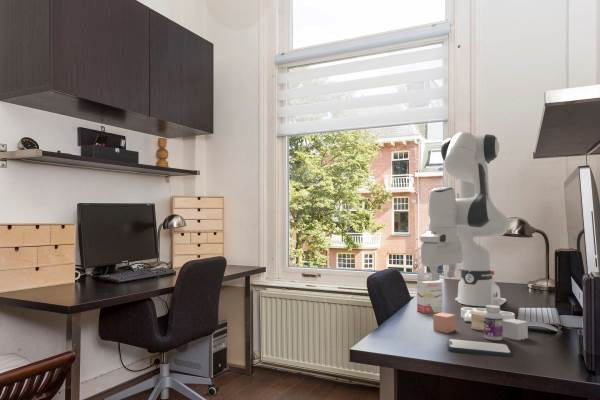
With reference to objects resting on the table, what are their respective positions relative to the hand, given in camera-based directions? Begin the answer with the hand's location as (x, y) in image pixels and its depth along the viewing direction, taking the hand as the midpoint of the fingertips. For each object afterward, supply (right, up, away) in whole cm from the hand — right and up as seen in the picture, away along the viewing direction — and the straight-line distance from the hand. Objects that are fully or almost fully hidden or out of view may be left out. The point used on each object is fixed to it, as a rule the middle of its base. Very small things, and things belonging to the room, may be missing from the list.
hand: (443, 278), depth 142 cm
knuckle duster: (+19, -18, +13) cm, 29 cm away
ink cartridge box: (+4, -18, +27) cm, 32 cm away
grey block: (+19, -16, -9) cm, 27 cm away
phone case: (+3, -16, -21) cm, 27 cm away
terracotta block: (0, -17, -1) cm, 17 cm away
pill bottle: (+12, -16, -10) cm, 23 cm away
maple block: (+13, -17, +2) cm, 21 cm away
